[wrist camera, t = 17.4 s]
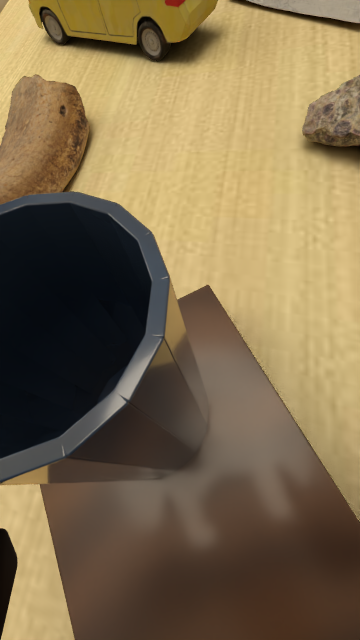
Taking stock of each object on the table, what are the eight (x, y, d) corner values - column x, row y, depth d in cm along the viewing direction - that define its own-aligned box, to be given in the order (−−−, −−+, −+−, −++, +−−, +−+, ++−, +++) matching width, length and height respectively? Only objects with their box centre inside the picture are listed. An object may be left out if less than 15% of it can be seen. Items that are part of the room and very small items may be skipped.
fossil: (-21, 264, 35) (47, 256, 31) (-85, 225, 30) (-13, 209, 25) (44, 127, 43) (105, 106, 39) (3, 77, 38) (69, 46, 33)
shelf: (398, 617, 16) (445, 656, 13) (148, 768, 15) (123, 856, 12) (211, 311, 25) (208, 284, 22) (47, 393, 24) (15, 379, 21)
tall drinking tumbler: (175, 504, 16) (38, 571, 5) (70, 442, 18) (-200, 384, 7) (228, 384, 19) (221, 231, 7) (129, 341, 21) (0, 169, 9)
